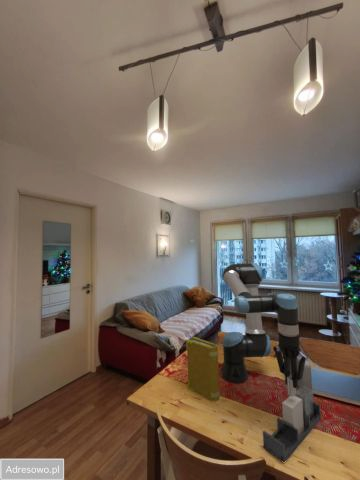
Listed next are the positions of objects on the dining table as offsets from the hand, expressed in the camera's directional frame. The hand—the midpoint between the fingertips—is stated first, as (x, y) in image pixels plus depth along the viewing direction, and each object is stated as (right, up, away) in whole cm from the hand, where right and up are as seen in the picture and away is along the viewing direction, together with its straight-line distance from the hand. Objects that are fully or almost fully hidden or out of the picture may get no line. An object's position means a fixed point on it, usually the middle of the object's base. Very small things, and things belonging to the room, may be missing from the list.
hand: (292, 394), depth 85 cm
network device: (+15, -16, +23) cm, 32 cm away
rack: (0, -14, -1) cm, 14 cm away
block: (0, -14, -1) cm, 14 cm away
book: (-32, -17, +24) cm, 44 cm away
